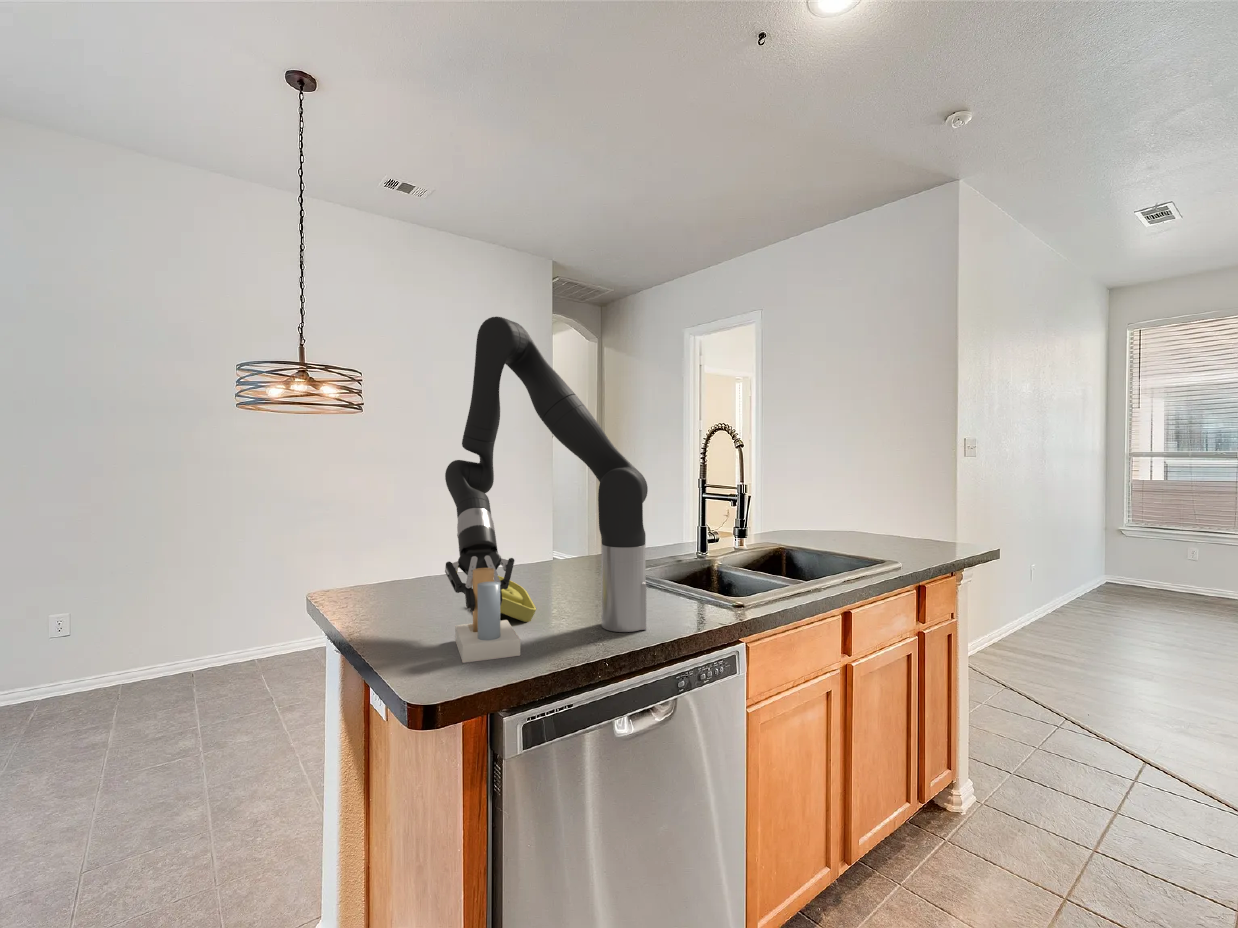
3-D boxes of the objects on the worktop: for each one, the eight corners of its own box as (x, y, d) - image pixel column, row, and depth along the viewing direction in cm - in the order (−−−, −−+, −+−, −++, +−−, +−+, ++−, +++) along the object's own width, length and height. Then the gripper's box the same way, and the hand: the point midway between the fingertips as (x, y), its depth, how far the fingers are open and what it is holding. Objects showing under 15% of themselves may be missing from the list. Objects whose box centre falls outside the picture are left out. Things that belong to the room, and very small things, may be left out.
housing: (455, 640, 112) (455, 575, 112) (507, 634, 116) (506, 571, 115) (462, 662, 100) (462, 589, 100) (520, 655, 103) (520, 585, 103)
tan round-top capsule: (496, 628, 113) (496, 567, 113) (491, 635, 109) (491, 571, 109) (475, 629, 113) (475, 567, 113) (470, 635, 109) (470, 571, 109)
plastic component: (538, 611, 125) (496, 595, 121) (523, 643, 124) (480, 627, 121) (523, 585, 143) (486, 570, 140) (510, 612, 143) (472, 598, 140)
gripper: (441, 525, 115) (447, 600, 104) (513, 522, 120) (525, 593, 109) (439, 547, 120) (444, 621, 109) (508, 544, 125) (519, 614, 114)
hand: (485, 607), depth 109 cm, fingers closed on tan round-top capsule, 4 cm apart
